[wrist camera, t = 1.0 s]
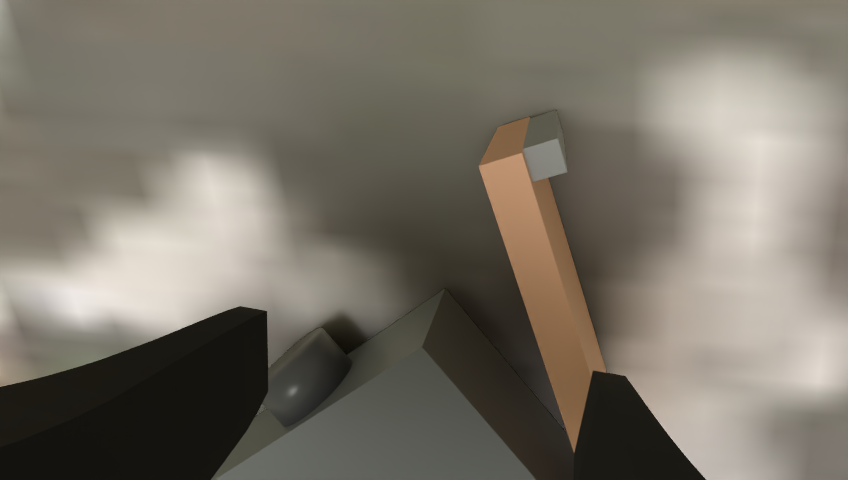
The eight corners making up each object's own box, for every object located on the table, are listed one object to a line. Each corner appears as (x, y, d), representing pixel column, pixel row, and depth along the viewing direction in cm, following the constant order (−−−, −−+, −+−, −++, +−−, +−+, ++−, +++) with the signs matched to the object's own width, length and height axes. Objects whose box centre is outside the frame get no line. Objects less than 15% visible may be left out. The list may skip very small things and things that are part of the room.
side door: (662, 481, 21) (695, 615, 16) (612, 487, 22) (629, 619, 17) (555, 108, 17) (557, 142, 13) (498, 126, 18) (478, 166, 13)
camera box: (610, 486, 22) (624, 594, 18) (397, 582, 26) (368, 688, 22) (416, 253, 20) (381, 313, 16) (220, 395, 24) (152, 472, 20)
